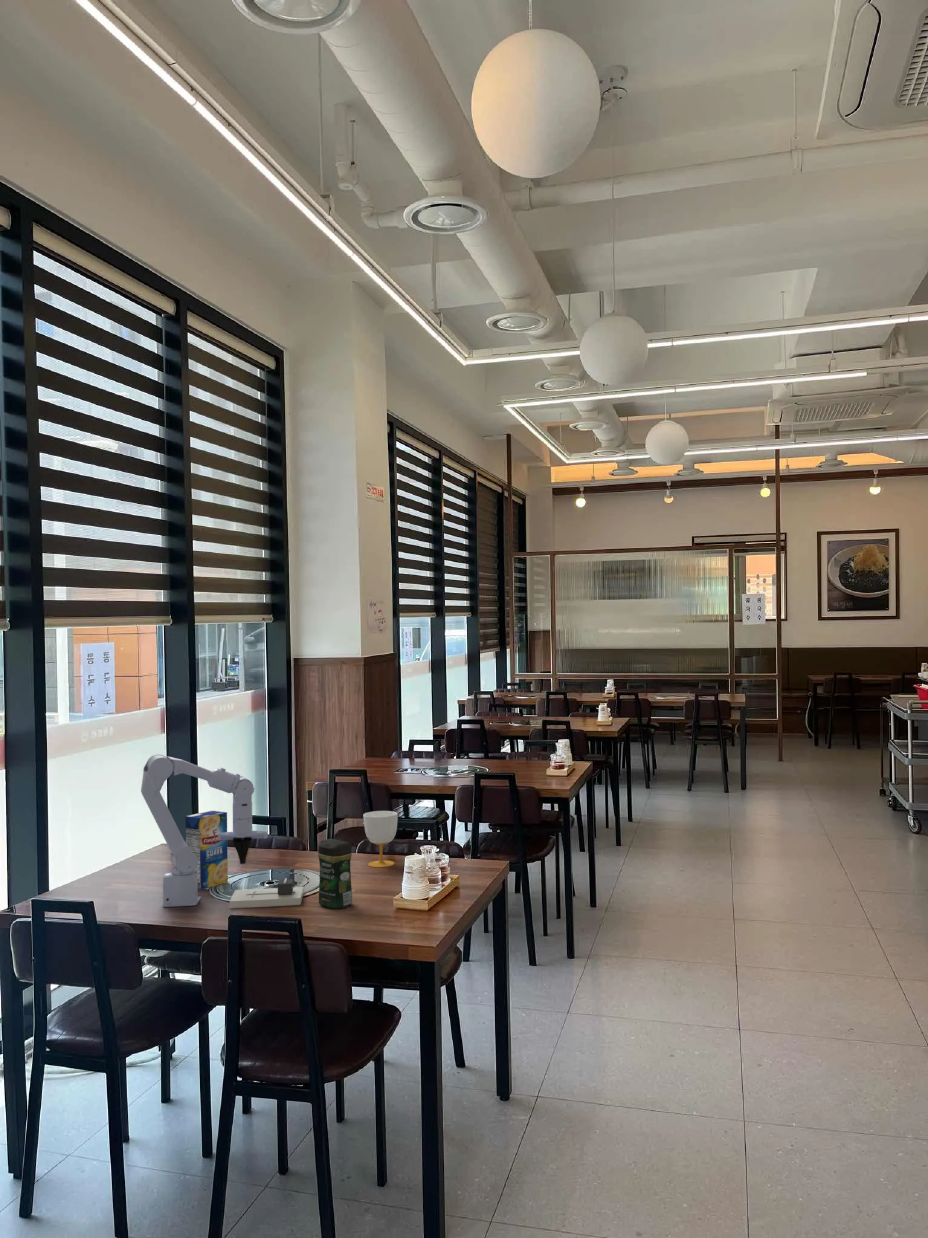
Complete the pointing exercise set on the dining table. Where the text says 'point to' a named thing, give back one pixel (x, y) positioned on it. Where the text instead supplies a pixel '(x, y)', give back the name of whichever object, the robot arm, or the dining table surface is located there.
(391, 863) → the cup
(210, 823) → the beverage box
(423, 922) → the dining table surface
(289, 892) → the block
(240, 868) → the dining table surface
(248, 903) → the control panel
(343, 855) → the coffee jar
